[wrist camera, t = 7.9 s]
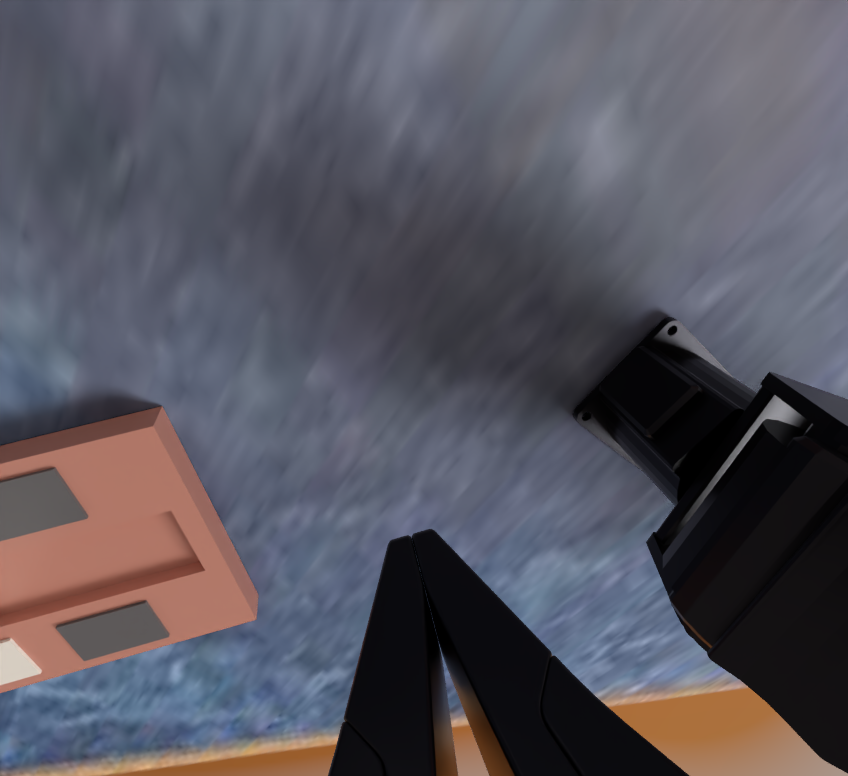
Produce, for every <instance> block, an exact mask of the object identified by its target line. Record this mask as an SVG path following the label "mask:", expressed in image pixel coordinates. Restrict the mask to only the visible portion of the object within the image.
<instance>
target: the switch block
mask: <svg viewBox="0 0 848 776" xmlns="http://www.w3.org/2000/svg"><path fill="white" fill-rule="evenodd" d="M257 606H258V593H257V591H256V589H255V587H254V585H253V583H252V581H251V579H250V578H249V576H248V574H247V572H246V570H245V568H244V566H243V564H242V562H241V560H240V558H239V556H238V554H237V552H236V550H235V548H234V546H233V544H232V542H231V540H230V538H229V536H228V534H227V532H226V530H225V528H224V526H223V524H222V523H221V521H220V519H219V517H218V515H217V513H216V511H215V509H214V507H213V505H212V503H211V501H210V499H209V497H208V495H207V493H206V491H205V489H204V487H203V485H202V483H201V481H200V479H199V477H198V475H197V473H196V471H195V470H194V468H193V466H192V464H191V462H190V460H189V458H188V456H187V454H186V452H185V450H184V448H183V446H182V444H181V442H180V440H179V438H178V436H177V434H176V432H175V430H174V428H173V426H172V424H171V422H170V420H169V418H168V417H167V415H166V413H165V411H164V409H163V407H162V406H161V407H157V408H153V409H149V410H145V411H140V412H136V413H132V414H128V415H124V416H120V417H116V418H112V419H108V420H104V421H99V422H95V423H91V424H87V425H83V426H79V427H75V428H71V429H67V430H63V431H58V432H54V433H50V434H46V435H42V436H38V437H34V438H30V439H26V440H22V441H18V442H13V443H9V444H5V445H1V446H0V693H2V692H6V691H9V690H13V689H16V688H20V687H23V686H27V685H30V684H33V683H37V682H40V681H44V680H47V679H51V678H54V677H58V676H61V675H65V674H68V673H72V672H75V671H79V670H82V669H86V668H89V667H93V666H96V665H100V664H103V663H107V662H110V661H114V660H117V659H121V658H124V657H128V656H131V655H135V654H138V653H142V652H145V651H149V650H152V649H156V648H159V647H162V646H166V645H169V644H173V643H176V642H180V641H183V640H187V639H190V638H194V637H197V636H201V635H204V634H208V633H211V632H215V631H218V630H222V629H225V628H229V627H232V626H236V625H239V624H243V623H246V622H250V621H253V620H256V618H257Z"/></svg>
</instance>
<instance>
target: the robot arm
mask: <svg viewBox="0 0 848 776" xmlns="http://www.w3.org/2000/svg"><path fill="white" fill-rule="evenodd" d="M671 326H672V328H671V330H670V331H668V329H669V328H670V327H671ZM667 331H668V332H667ZM761 385H762V387H761V389H760V390H759V391H758V393H756V392H754V391H753V390H751V389H750V388H748V387H747V386H745V385H743V384H742V383H740V382H739V381H737V380H736V379H734V378H733V377H732V375H731V374H730V373H729V372H728V371H727V370H726V369H725V368H724V367H723V366H722V365H721V364H720V363H719V362H718V361H717V360H716V359H715V358H714V357H713V356H712V355H711V354H710V352H709V351H708V350H707V349H706V348H705V347H704V346H703V345H702V344H701V343H700V342H699V341H698V340H697V339H696V338H695V337H694V336H693V335H692V334H691V333H690V332H689V331H688V329H687V328H686V327H685V326H684V325H683V324H682V323H681V322H679V321H678V320H676V319H674V318H672V317H668V318H666V319H664V320H663V321H661V322H660V323H659V324H658V325H657V326H656V327H655V328H654V329H653V330H652V331H651V332H650V333H649V334H648V336H647V337H646V338H645V339H644V340H643V341H642V342H641V343H640V344H639V345H638V346H637V347H636V348H635V349H634V350H633V351H632V352H631V353H630V354H629V355H628V356H627V357H626V358H625V359H624V360H623V361H622V362H621V363H620V364H619V365H618V366H617V367H616V368H615V369H614V370H613V371H612V372H611V373H610V374H609V375H608V376H607V377H606V378H605V379H604V380H603V381H602V382H601V383H600V384H599V385H598V386H597V387H596V388H595V389H594V390H593V391H592V392H591V393H590V394H589V395H588V396H587V397H586V398H585V399H584V400H583V401H582V402H581V403H580V404H579V405H578V407H577V408H576V409H575V410H574V413H573V415H574V418H575V419H576V421H577V422H578V423H579V424H580V425H582V426H583V427H584V428H586V429H587V430H588V431H590V432H591V433H592V434H594V435H595V436H596V437H598V438H599V439H600V440H602V441H603V442H604V443H606V444H607V445H608V446H610V447H611V448H612V449H613V450H615V451H616V452H617V453H619V454H620V455H621V456H623V457H624V458H625V459H627V460H628V461H629V462H631V463H632V464H633V465H635V466H636V467H637V468H639V469H640V470H641V471H643V472H644V473H645V474H646V475H647V476H648V477H649V478H650V479H651V480H652V481H653V482H654V483H655V485H656V486H657V487H658V488H659V489H660V490H661V491H662V492H663V493H664V494H665V495H666V497H667V498H668V499H669V500H670V501H671V502H672V503H673V504H674V505H675V507H674V509H673V510H672V511H671V513H670V514H669V515H668V517H667V518H666V520H665V521H664V522H663V524H662V525H661V526H660V528H659V529H658V531H657V532H653V533H652V535H651V536H650V538H649V539H648V540H647V542H646V543H647V546H648V548H649V550H650V553H651V555H652V558H653V560H654V562H655V565H656V567H657V569H658V572H659V574H660V577H661V579H662V581H663V584H664V586H665V589H666V591H667V593H668V596H669V599H670V602H671V605H672V606H673V608H674V610H675V612H676V614H677V616H678V618H679V620H680V622H681V624H682V625H683V626H684V628H685V631H686V632H687V633H688V635H689V636H690V637H692V638H693V639H694V640H695V641H696V642H697V643H698V644H699V645H700V646H701V647H702V648H703V649H704V650H705V651H707V655H708V657H709V658H710V659H711V660H712V661H713V662H715V663H716V664H717V665H719V666H720V667H722V668H723V669H725V670H726V671H728V672H729V673H731V674H732V675H734V676H735V677H737V678H738V679H740V680H741V681H742V682H743V683H744V684H746V685H747V686H748V687H749V688H750V689H752V690H753V691H754V692H755V693H756V694H758V695H759V696H760V697H761V698H762V699H763V700H765V701H766V702H767V703H768V704H769V705H770V706H771V707H772V708H773V709H774V710H775V711H776V712H777V713H778V714H779V715H780V716H781V717H782V718H783V719H784V720H785V721H786V722H787V723H788V724H789V725H790V726H791V727H792V728H793V730H794V731H795V732H797V734H798V735H799V736H800V737H801V738H802V739H803V740H804V741H805V742H806V743H807V744H808V745H809V746H810V747H811V748H812V749H813V751H814V752H815V753H816V754H817V755H818V756H820V757H821V758H822V759H823V760H825V761H826V762H828V763H830V764H832V765H834V766H836V767H837V768H839V769H841V770H843V771H844V772H846V773H848V400H847V399H845V398H842V397H839V396H837V395H834V394H831V393H828V392H825V391H823V390H820V389H817V388H814V387H811V386H809V385H806V384H803V383H800V382H797V381H795V380H792V379H789V378H786V377H783V376H781V375H778V374H775V373H772V372H769V373H768V374H767V376H766V377H765V378H764V380H763V381H762V382H761ZM586 412H587V414H586V415H585V416H582V415H583V414H584V413H586ZM412 540H413V542H412ZM413 544H414V545H413ZM414 548H415V549H414ZM415 552H416V553H415ZM416 556H417V557H416ZM417 560H418V561H417ZM418 564H419V565H418ZM419 567H420V569H419ZM420 571H421V572H420ZM421 575H422V576H421ZM422 579H423V580H422ZM423 583H424V584H423ZM424 587H425V588H424ZM425 591H426V592H425ZM426 595H427V596H426ZM427 598H428V599H427ZM428 602H429V603H428ZM429 606H430V607H429ZM430 610H431V611H430ZM431 614H432V615H431ZM432 618H433V619H432ZM433 622H434V623H433ZM434 625H435V627H434ZM435 629H436V630H435ZM436 633H437V634H436ZM437 637H438V638H437ZM438 641H439V642H438ZM439 644H440V647H439ZM440 648H441V651H442V654H443V657H444V660H445V663H446V665H447V668H448V671H449V673H450V676H451V678H452V681H453V683H454V686H455V689H456V691H457V694H458V696H459V699H460V701H461V704H462V707H463V709H464V712H465V714H466V717H467V719H468V722H469V724H470V727H471V729H472V732H473V735H474V737H475V740H476V742H477V745H478V747H479V750H480V752H481V755H482V758H483V760H484V763H485V765H486V768H487V770H488V773H489V776H689V775H688V774H687V773H685V772H684V771H683V770H682V769H681V768H679V767H678V766H677V765H676V764H675V763H673V762H672V761H671V760H670V759H668V758H667V757H666V756H665V755H664V754H663V753H661V752H660V751H659V750H658V749H657V748H655V747H654V746H653V745H652V744H651V743H649V742H648V741H647V740H646V739H645V738H643V737H642V736H641V735H640V734H639V733H637V732H636V731H635V730H634V729H633V728H631V727H630V726H629V725H628V724H626V723H625V722H624V721H623V720H622V719H621V718H620V717H618V716H617V715H616V714H615V713H614V712H613V711H611V710H610V709H609V708H608V707H607V706H606V705H605V704H604V703H602V702H601V701H600V700H599V699H598V698H597V697H596V696H595V695H594V694H593V693H592V692H591V691H590V690H589V689H588V688H586V687H585V686H584V685H583V684H582V683H581V682H580V681H579V680H578V679H577V678H576V677H575V676H574V675H573V674H572V673H571V672H570V671H569V670H568V669H567V668H566V667H565V666H564V665H563V663H562V662H561V661H560V660H559V659H558V658H557V657H556V656H552V653H551V651H550V650H549V649H548V648H547V647H546V646H545V645H544V644H543V643H542V642H541V641H540V640H539V639H538V638H537V637H536V636H535V635H534V634H533V633H532V632H531V630H530V629H529V628H528V627H527V626H526V625H525V624H524V623H523V622H522V621H521V620H520V619H519V618H518V617H517V616H516V615H515V614H514V613H513V612H512V611H511V610H510V609H509V608H508V607H507V605H506V604H505V603H504V602H503V601H502V600H501V599H500V598H499V597H498V596H497V595H496V594H495V593H494V592H493V591H492V590H491V589H490V588H489V587H488V586H487V585H486V584H485V583H484V582H483V580H482V579H481V578H480V577H479V576H478V575H477V574H476V573H475V572H474V571H473V570H472V569H471V568H470V567H469V566H468V565H467V564H466V563H465V562H464V561H463V560H462V559H461V558H460V557H459V556H458V554H457V553H456V552H455V551H454V550H453V549H452V548H451V547H450V546H449V545H448V544H447V543H446V542H445V541H444V540H443V539H442V538H441V537H440V536H439V535H438V534H437V533H436V532H435V531H434V530H433V529H428V530H424V531H421V532H417V533H414V534H413V535H412V538H411V537H410V536H408V535H407V536H403V537H400V538H396V539H393V540H391V541H390V542H389V544H388V547H387V551H386V555H385V559H384V562H383V566H382V570H381V574H380V578H379V582H378V586H377V590H376V594H375V598H374V602H373V606H372V609H371V613H370V617H369V621H368V625H367V629H366V633H365V637H364V641H363V645H362V649H361V653H360V656H359V660H358V664H357V668H356V672H355V676H354V680H353V684H352V688H351V692H350V696H349V700H348V703H347V707H346V711H345V715H344V720H345V722H343V723H342V726H341V730H340V734H339V738H338V742H337V746H336V750H335V753H334V756H333V760H332V763H331V767H330V770H329V774H328V776H458V771H457V764H456V756H455V749H454V742H453V734H452V727H451V719H450V712H449V705H448V698H447V690H446V683H445V676H444V668H443V662H442V656H441V651H440Z"/></svg>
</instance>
